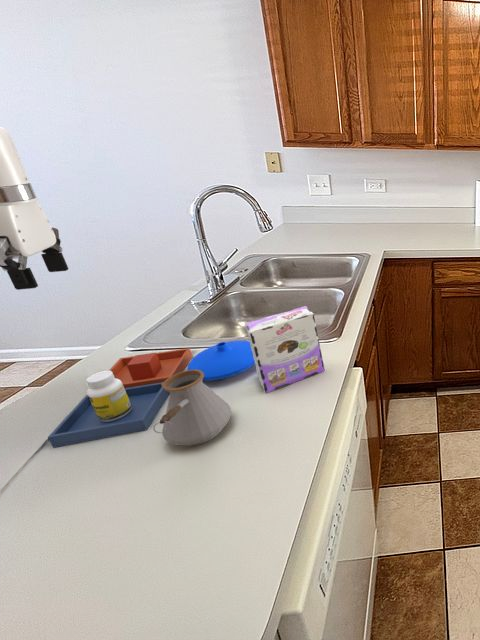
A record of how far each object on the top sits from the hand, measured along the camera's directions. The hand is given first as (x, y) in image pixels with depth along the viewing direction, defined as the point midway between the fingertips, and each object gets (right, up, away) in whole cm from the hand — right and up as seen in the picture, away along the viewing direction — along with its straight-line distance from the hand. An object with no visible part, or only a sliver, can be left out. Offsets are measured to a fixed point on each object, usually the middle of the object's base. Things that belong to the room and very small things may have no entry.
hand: (44, 279), depth 81 cm
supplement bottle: (+12, -29, +3) cm, 31 cm away
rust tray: (+8, -24, +16) cm, 30 cm away
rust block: (+8, -23, +16) cm, 29 cm away
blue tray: (+12, -29, +3) cm, 32 cm away
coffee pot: (+35, -33, -5) cm, 48 cm away
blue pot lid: (+25, -23, +19) cm, 39 cm away
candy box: (+43, -24, +16) cm, 52 cm away
